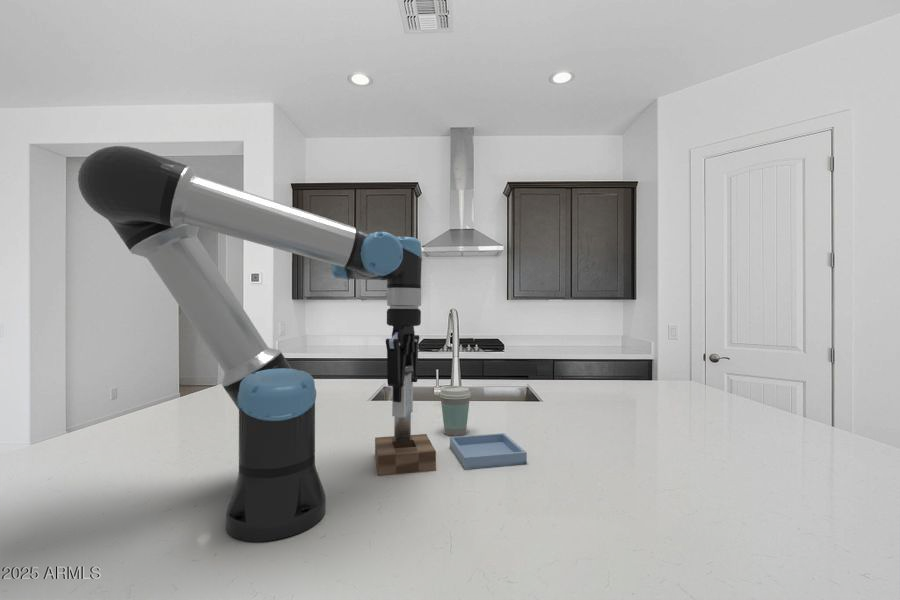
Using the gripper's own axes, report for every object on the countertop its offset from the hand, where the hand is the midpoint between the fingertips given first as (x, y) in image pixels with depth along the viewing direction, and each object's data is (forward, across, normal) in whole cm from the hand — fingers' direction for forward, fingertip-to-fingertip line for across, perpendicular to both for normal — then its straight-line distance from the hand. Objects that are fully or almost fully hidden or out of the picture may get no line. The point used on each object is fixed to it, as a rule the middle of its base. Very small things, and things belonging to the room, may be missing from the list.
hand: (402, 413), depth 93 cm
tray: (+10, -10, +17) cm, 22 cm away
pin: (+6, 0, 0) cm, 6 cm away
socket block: (+11, 0, 0) cm, 11 cm away
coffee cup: (+11, -24, +5) cm, 27 cm away
